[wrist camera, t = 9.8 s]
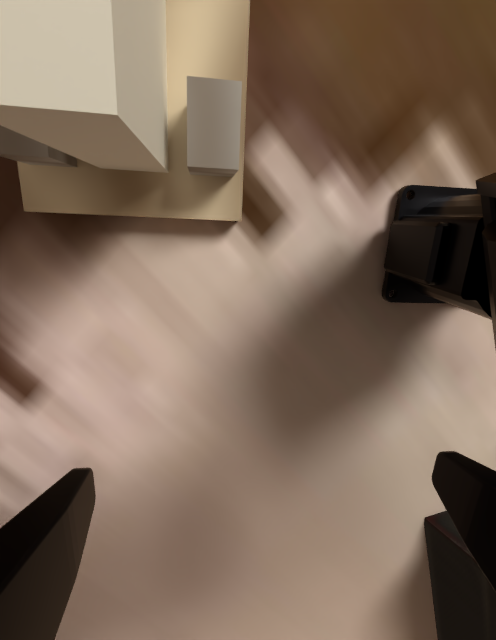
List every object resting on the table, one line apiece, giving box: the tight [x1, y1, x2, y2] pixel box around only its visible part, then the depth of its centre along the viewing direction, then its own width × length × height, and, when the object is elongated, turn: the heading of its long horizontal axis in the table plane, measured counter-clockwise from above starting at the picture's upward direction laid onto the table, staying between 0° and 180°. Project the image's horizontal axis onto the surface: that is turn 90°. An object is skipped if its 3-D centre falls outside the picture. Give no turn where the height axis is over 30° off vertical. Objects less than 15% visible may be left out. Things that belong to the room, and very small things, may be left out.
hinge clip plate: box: [0, 0, 250, 221], centre depth 13 cm, size 10×16×4 cm, turn 177°
